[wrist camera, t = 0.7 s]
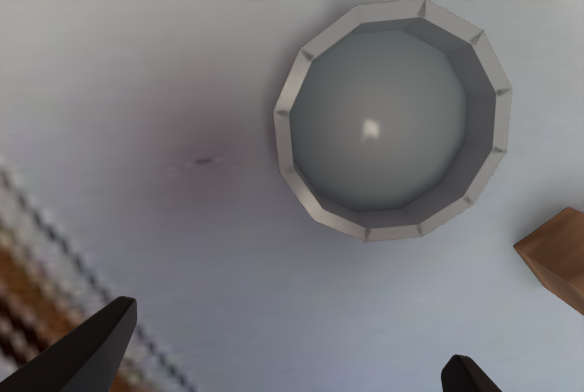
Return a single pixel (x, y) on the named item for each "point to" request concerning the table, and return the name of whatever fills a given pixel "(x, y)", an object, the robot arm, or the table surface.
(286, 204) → the table surface
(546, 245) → the walnut block
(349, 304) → the table surface
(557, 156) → the table surface
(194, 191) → the table surface
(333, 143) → the shallow grey bowl
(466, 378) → the robot arm
